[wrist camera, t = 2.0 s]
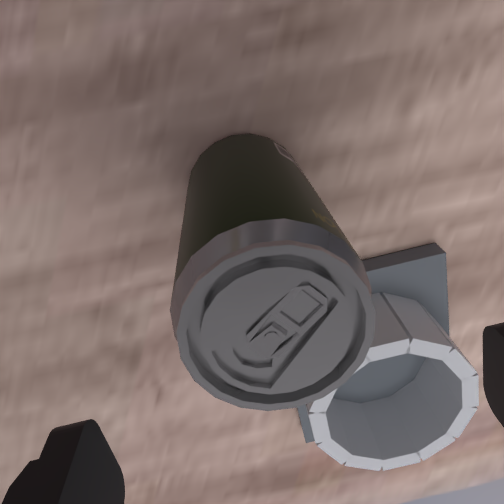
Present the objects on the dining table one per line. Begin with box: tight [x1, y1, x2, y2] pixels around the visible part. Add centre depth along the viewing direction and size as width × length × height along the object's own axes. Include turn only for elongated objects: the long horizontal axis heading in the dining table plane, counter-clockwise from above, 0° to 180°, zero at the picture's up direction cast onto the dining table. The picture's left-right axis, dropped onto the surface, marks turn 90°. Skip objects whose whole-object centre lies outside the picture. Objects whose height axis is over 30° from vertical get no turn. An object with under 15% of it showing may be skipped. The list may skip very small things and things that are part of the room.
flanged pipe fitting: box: [297, 243, 479, 471], centre depth 24 cm, size 11×9×5 cm
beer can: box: [170, 134, 376, 411], centre depth 17 cm, size 5×5×12 cm
